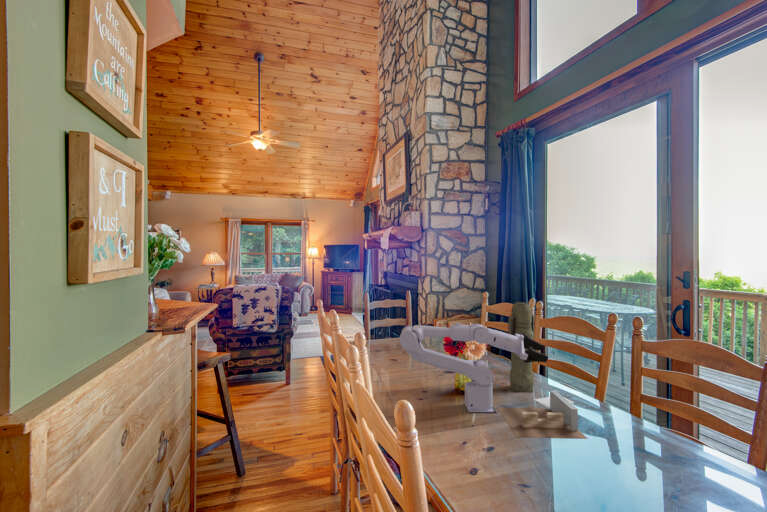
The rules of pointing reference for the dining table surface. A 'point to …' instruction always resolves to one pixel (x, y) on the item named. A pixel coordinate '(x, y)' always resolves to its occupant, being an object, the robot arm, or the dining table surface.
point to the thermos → (520, 370)
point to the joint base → (536, 432)
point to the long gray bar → (564, 409)
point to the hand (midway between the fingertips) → (544, 353)
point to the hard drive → (548, 401)
